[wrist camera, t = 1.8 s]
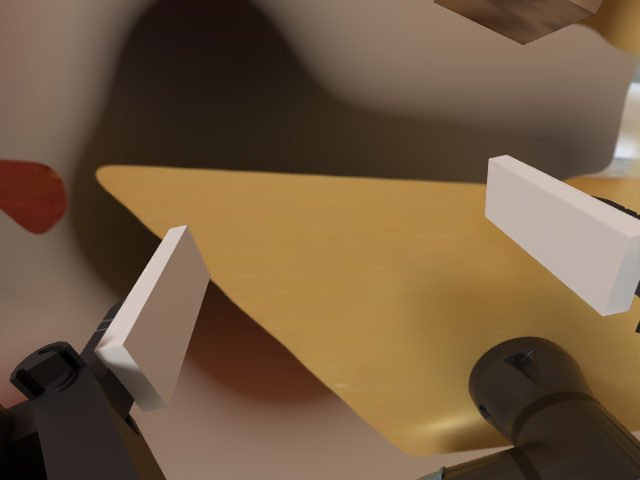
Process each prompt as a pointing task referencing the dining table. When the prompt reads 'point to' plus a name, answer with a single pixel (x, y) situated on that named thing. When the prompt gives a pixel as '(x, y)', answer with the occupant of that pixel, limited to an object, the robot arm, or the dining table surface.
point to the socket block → (523, 15)
